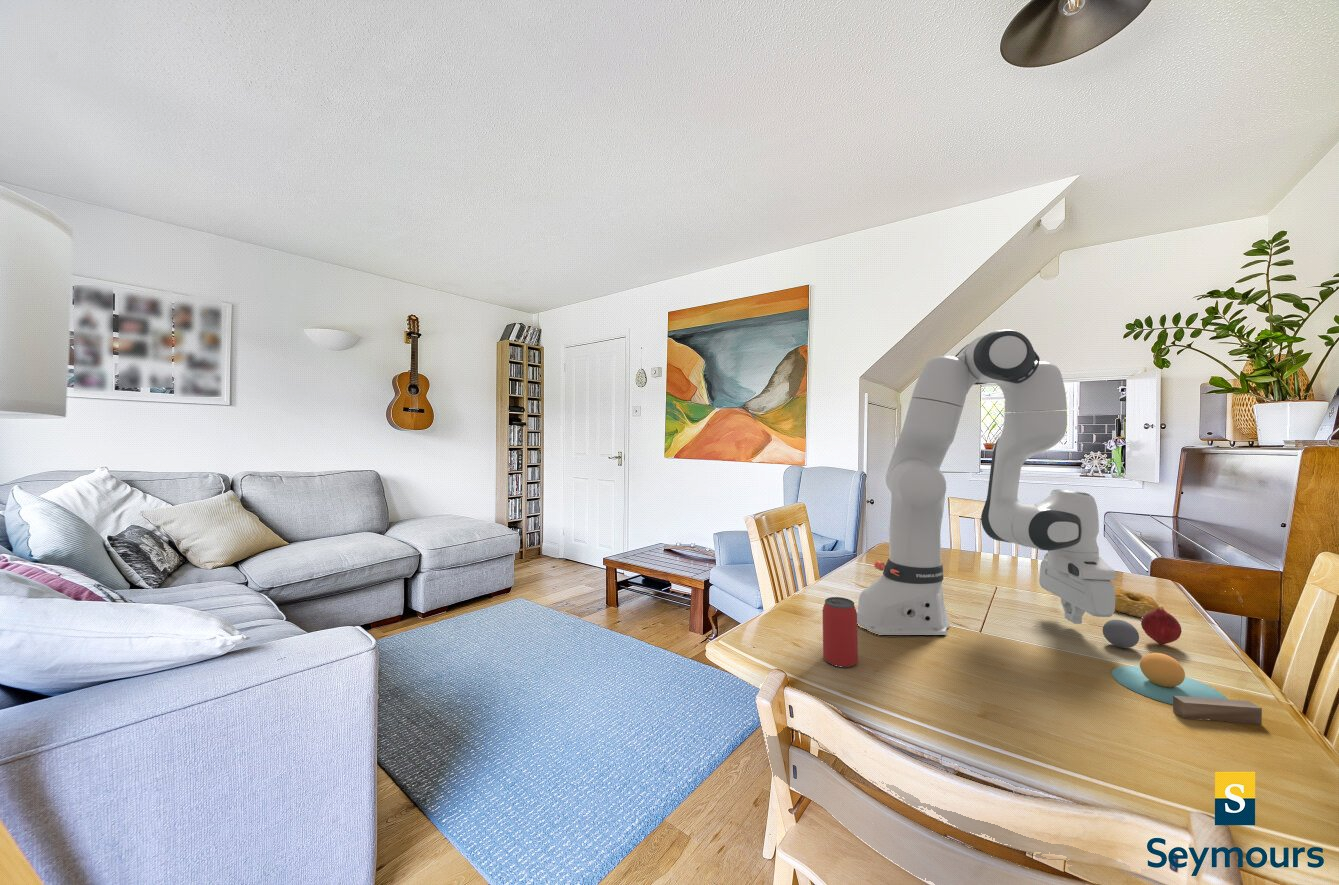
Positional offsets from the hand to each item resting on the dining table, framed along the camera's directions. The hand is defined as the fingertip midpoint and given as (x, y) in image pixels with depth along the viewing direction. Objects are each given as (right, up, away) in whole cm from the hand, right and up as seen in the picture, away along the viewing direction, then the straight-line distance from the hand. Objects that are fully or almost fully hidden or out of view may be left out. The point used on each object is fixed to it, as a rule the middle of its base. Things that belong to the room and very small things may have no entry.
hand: (1073, 621), depth 107 cm
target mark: (-5, -2, -25) cm, 25 cm away
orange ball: (-5, +1, -24) cm, 25 cm away
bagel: (+23, -1, +9) cm, 25 cm away
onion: (+11, -2, -9) cm, 14 cm away
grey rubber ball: (+2, +1, -9) cm, 10 cm away
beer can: (-58, -3, -13) cm, 59 cm away
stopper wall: (-6, -2, -33) cm, 34 cm away
